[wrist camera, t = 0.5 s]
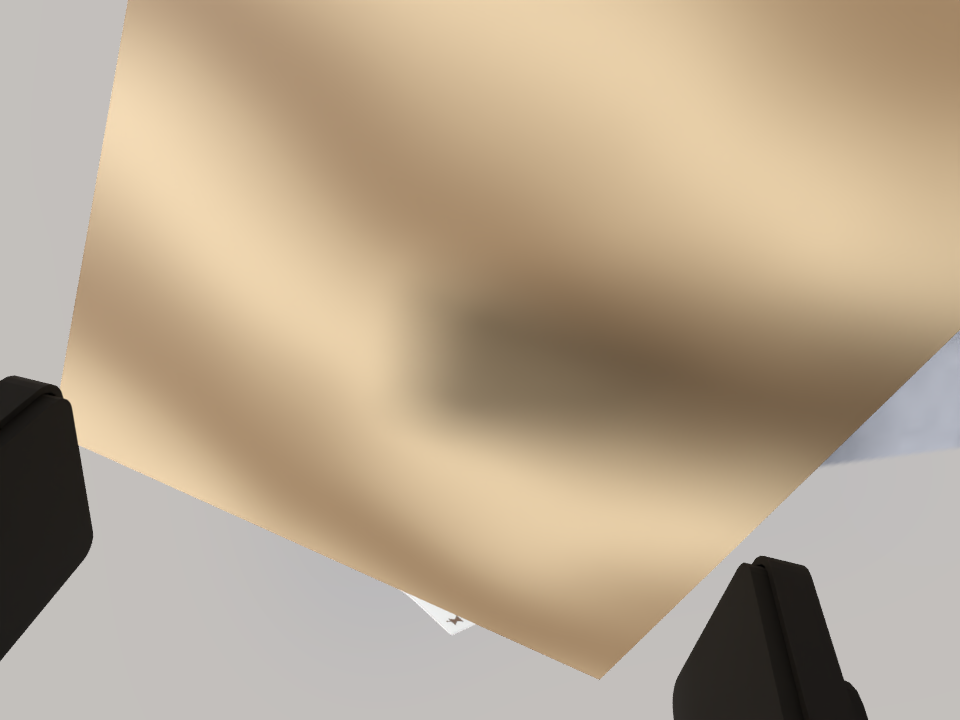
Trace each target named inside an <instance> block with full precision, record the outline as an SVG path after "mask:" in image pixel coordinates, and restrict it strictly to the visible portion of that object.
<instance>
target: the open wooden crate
mask: <svg viewBox="0 0 960 720" xmlns="http://www.w3.org/2000/svg"><path fill="white" fill-rule="evenodd" d="M959 330H960V0H128V4H127V9H126V15H125V20H124V27H123V32H122V37H121V43H120V49H119V55H118V61H117V66H116V72H115V77H114V83H113V89H112V95H111V100H110V106H109V112H108V117H107V123H106V129H105V134H104V141H103V146H102V152H101V157H100V163H99V169H98V175H97V181H96V186H95V192H94V197H93V203H92V209H91V214H90V220H89V226H88V232H87V238H86V243H85V249H84V255H83V261H82V266H81V272H80V277H79V284H78V289H77V294H76V300H75V306H74V312H73V318H72V324H71V329H70V335H69V340H68V346H67V352H66V357H65V363H64V369H63V374H62V380H61V386H60V390H61V392H62V395H63V398H64V399H67V400H68V401H69V402H70V403H71V406H72V410H73V416H74V422H75V428H76V434H77V440H78V445H80V446H82V447H84V448H86V449H89V450H91V451H93V452H95V453H98V454H100V455H102V456H104V457H106V458H109V459H111V460H113V461H116V462H118V463H120V464H122V465H124V466H126V467H129V468H131V469H133V470H135V471H137V472H140V473H142V474H144V475H146V476H149V477H151V478H153V479H155V480H157V481H160V482H162V483H164V484H166V485H169V486H171V487H173V488H175V489H177V490H180V491H182V492H184V493H186V494H188V495H191V496H193V497H195V498H197V499H200V500H202V501H204V502H206V503H208V504H211V505H213V506H215V507H217V508H220V509H222V510H224V511H226V512H229V513H231V514H233V515H235V516H237V517H240V518H242V519H244V520H246V521H248V522H251V523H253V524H255V525H257V526H260V527H262V528H264V529H266V530H268V531H271V532H273V533H275V534H277V535H280V536H282V537H284V538H286V539H288V540H291V541H293V542H295V543H297V544H300V545H302V546H304V547H306V548H308V549H311V550H313V551H315V552H317V553H320V554H322V555H324V556H326V557H328V558H330V559H333V560H335V561H337V562H339V563H342V564H344V565H346V566H348V567H350V568H353V569H355V570H357V571H359V572H362V573H364V574H366V575H368V576H371V577H373V578H375V579H377V580H379V581H382V582H384V583H386V584H388V585H391V586H393V587H395V588H397V589H399V590H401V591H404V592H406V593H408V594H410V595H413V596H415V597H417V598H419V599H421V600H424V601H426V602H428V603H430V604H433V605H435V606H437V607H439V608H441V609H444V610H446V611H448V612H450V613H452V614H455V615H457V616H459V617H461V618H464V619H466V620H468V621H470V622H472V623H475V624H477V625H479V626H481V627H484V628H486V629H488V630H490V631H493V632H495V633H497V634H499V635H501V636H503V637H506V638H508V639H510V640H513V641H515V642H517V643H519V644H521V645H524V646H526V647H528V648H530V649H532V650H535V651H537V652H539V653H541V654H544V655H546V656H548V657H550V658H552V659H555V660H557V661H559V662H561V663H564V664H566V665H568V666H570V667H572V668H574V669H577V670H579V671H581V672H583V673H586V674H588V675H590V676H593V677H595V678H597V679H599V680H600V679H601V678H602V677H603V676H604V675H605V674H606V672H608V671H609V670H610V669H611V668H612V667H613V666H614V665H615V664H616V663H617V662H618V661H619V660H620V659H621V658H622V657H623V656H624V655H625V654H626V653H627V652H628V651H629V650H630V649H631V648H633V647H634V646H635V645H636V644H637V643H638V642H639V641H640V639H642V638H643V637H644V636H645V635H646V634H647V633H648V632H649V631H650V630H651V629H652V628H653V627H654V626H655V625H656V624H657V623H658V622H659V621H660V620H661V619H662V618H663V617H664V616H666V615H667V614H668V613H669V612H670V611H671V610H672V609H673V608H674V607H675V606H676V605H677V604H678V603H679V602H680V601H681V600H682V599H683V598H684V597H685V596H686V595H687V594H688V593H689V592H690V591H691V590H692V589H693V588H694V587H695V586H696V585H697V584H698V583H699V582H700V581H701V580H702V579H704V578H705V577H706V576H707V575H708V574H709V573H710V572H711V571H712V570H713V569H714V568H715V567H716V566H717V565H718V564H719V563H720V562H721V561H722V560H723V559H724V558H725V557H726V556H727V555H728V554H729V553H730V552H731V551H732V550H733V549H735V548H736V547H737V546H738V545H739V544H740V543H741V542H742V541H743V540H744V539H745V538H746V537H747V536H748V535H749V534H750V533H751V532H752V531H753V530H754V529H755V528H756V527H757V526H758V525H759V524H760V523H761V522H762V521H763V520H764V519H765V518H766V517H768V515H770V514H771V513H772V512H773V511H774V510H775V509H776V508H777V507H778V506H779V505H780V504H781V503H782V502H783V501H784V500H785V499H786V498H787V497H788V496H789V495H790V494H791V493H792V492H793V491H794V490H795V489H796V488H797V487H798V486H799V485H800V484H801V483H802V482H804V481H805V480H806V479H807V478H808V477H809V476H810V475H811V474H812V473H813V472H814V471H815V470H816V469H817V468H818V467H819V466H820V465H821V464H822V463H823V462H824V461H825V460H826V459H827V458H828V457H829V456H830V455H831V454H832V453H833V452H834V451H836V450H837V449H838V448H839V447H840V446H841V445H842V444H843V443H844V442H845V441H846V440H847V439H848V438H849V437H850V436H851V435H852V434H853V433H854V432H855V431H856V430H857V429H858V428H859V427H860V426H861V425H862V424H863V423H864V422H865V421H866V420H867V419H868V418H870V417H871V416H872V415H873V414H874V413H875V412H876V411H877V410H878V409H879V408H880V407H881V406H882V405H883V404H884V403H885V402H886V401H887V400H888V399H889V398H890V397H891V396H892V395H893V394H894V393H895V392H896V391H897V390H898V389H899V388H900V387H901V386H902V385H904V384H905V383H906V382H907V381H908V380H909V379H910V378H911V377H912V376H913V375H914V374H915V373H916V372H917V371H918V370H919V369H920V368H921V367H922V366H923V365H924V364H925V363H926V362H927V361H928V360H929V359H930V358H931V357H932V356H933V355H934V354H935V353H936V352H938V351H939V350H940V349H941V348H942V347H943V346H944V345H945V344H946V343H947V342H948V341H949V340H950V339H951V338H952V337H953V336H954V335H955V334H956V333H957V332H958V331H959Z"/></svg>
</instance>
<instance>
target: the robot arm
mask: <svg viewBox="0 0 960 720" xmlns="http://www.w3.org/2000/svg"><path fill="white" fill-rule="evenodd" d="M92 540H93V530H92V524H91V518H90V512H89V506H88V500H87V494H86V488H85V482H84V476H83V470H82V465H81V458H80V452H79V446H78V440H77V434H76V428H75V422H74V416H73V410H72V406H71V403H70V402H69V401H68V400H67V399H64V398H63V395H62V392H61V390H60V389H59V388H58V387H57V386H55V385H52V384H47V383H43V382H39V381H35V380H31V379H27V378H23V377H18V376H10V377H6V378H4V379H3V380H1V381H0V661H1V660H2V658H3V657H4V656H5V655H6V653H7V652H8V651H9V650H10V649H11V647H12V646H13V645H14V644H15V643H16V641H17V640H18V639H19V638H20V636H21V635H22V634H23V633H24V632H25V630H26V629H27V628H28V626H29V625H30V624H31V623H32V622H33V621H34V619H35V618H36V617H37V616H38V615H39V613H40V612H41V611H42V610H43V608H44V607H45V606H46V605H47V603H48V602H49V601H50V600H51V599H52V598H53V596H54V595H55V594H56V593H57V591H58V590H59V589H60V588H61V587H62V585H63V584H64V583H65V582H66V581H67V579H68V578H69V577H70V576H71V574H72V573H73V572H74V571H75V570H76V568H77V567H78V566H79V565H80V563H81V562H82V561H83V560H84V558H85V557H86V555H87V554H88V552H89V550H90V547H91V544H92ZM673 715H674V720H868V718H867V715H866V711H865V708H864V705H863V703H862V701H861V699H860V697H859V694H858V692H857V690H856V689H855V688H854V687H853V686H852V685H851V684H850V683H849V682H847V681H844V679H843V676H842V673H841V669H840V666H839V663H838V660H837V657H836V653H835V650H834V647H833V644H832V641H831V637H830V634H829V631H828V628H827V625H826V622H825V618H824V615H823V612H822V609H821V606H820V602H819V599H818V596H817V593H816V590H815V586H814V583H813V580H812V577H811V575H810V572H809V570H808V569H807V568H806V567H805V566H803V565H799V564H795V563H791V562H786V561H782V560H778V559H774V558H770V557H766V556H759V557H757V558H756V559H755V560H754V562H753V563H752V564H748V563H742V564H741V565H740V566H739V568H738V569H737V571H736V573H735V575H734V576H733V578H732V580H731V582H730V584H729V585H728V587H727V589H726V591H725V593H724V594H723V596H722V598H721V600H720V601H719V603H718V605H717V607H716V609H715V611H714V612H713V614H712V616H711V618H710V620H709V621H708V623H707V625H706V627H705V629H704V630H703V632H702V634H701V636H700V638H699V640H698V641H697V643H696V645H695V647H694V648H693V650H692V652H691V654H690V656H689V658H688V659H687V661H686V663H685V665H684V667H683V668H682V670H681V672H680V674H679V676H678V678H677V680H676V683H675V686H674V693H673Z"/></svg>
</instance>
